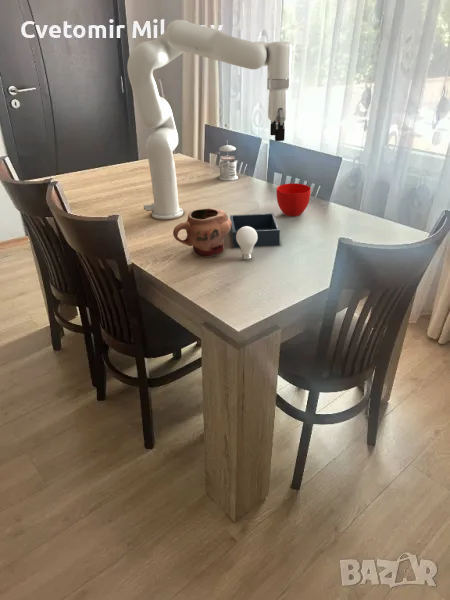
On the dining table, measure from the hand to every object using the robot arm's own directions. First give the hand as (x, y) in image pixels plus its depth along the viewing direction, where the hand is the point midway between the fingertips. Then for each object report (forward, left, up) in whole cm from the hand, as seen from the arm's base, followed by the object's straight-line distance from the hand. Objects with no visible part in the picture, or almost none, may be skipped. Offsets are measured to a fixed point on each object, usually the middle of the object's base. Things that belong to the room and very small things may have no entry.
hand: (277, 137), depth 157 cm
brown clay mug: (-28, -30, -29) cm, 50 cm away
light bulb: (-14, -36, -29) cm, 49 cm away
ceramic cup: (+8, +4, -29) cm, 31 cm away
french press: (-16, +55, -29) cm, 64 cm away
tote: (-10, -19, -29) cm, 36 cm away
